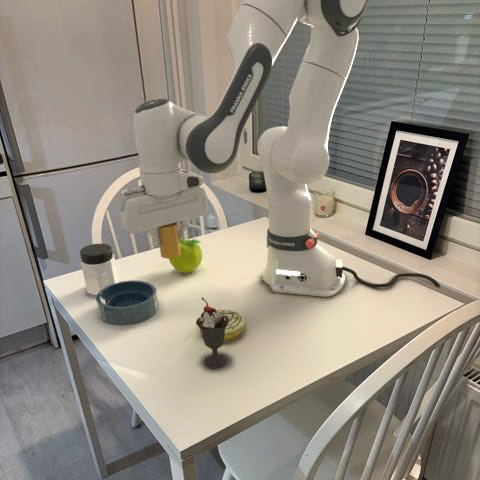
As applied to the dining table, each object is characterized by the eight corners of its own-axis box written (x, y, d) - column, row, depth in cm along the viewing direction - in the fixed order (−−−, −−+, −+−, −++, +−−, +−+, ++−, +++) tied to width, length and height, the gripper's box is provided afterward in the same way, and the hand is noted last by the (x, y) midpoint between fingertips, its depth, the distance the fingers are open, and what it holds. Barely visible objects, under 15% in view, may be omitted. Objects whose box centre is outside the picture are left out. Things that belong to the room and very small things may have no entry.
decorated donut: (248, 321, 118) (248, 307, 116) (240, 346, 109) (239, 332, 107) (206, 318, 120) (205, 304, 118) (194, 342, 111) (193, 328, 109)
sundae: (199, 353, 107) (193, 292, 99) (230, 351, 107) (226, 290, 99) (199, 371, 101) (193, 309, 93) (232, 369, 102) (228, 306, 94)
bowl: (169, 304, 126) (167, 286, 124) (135, 332, 115) (132, 313, 112) (124, 293, 132) (121, 276, 129) (87, 319, 121) (83, 301, 118)
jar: (92, 300, 129) (83, 258, 123) (83, 288, 135) (74, 248, 129) (124, 290, 133) (117, 250, 127) (113, 280, 139) (106, 240, 133)
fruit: (181, 262, 148) (178, 231, 143) (208, 267, 145) (206, 235, 139) (164, 274, 141) (160, 242, 136) (192, 280, 138) (189, 247, 132)
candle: (184, 252, 116) (180, 218, 111) (173, 259, 112) (169, 225, 108) (167, 249, 118) (163, 216, 113) (157, 256, 114) (152, 222, 110)
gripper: (122, 195, 99) (132, 257, 106) (209, 176, 108) (213, 235, 116) (110, 188, 104) (121, 248, 111) (195, 170, 113) (200, 227, 120)
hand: (169, 241), depth 113 cm, fingers closed on candle, 4 cm apart
